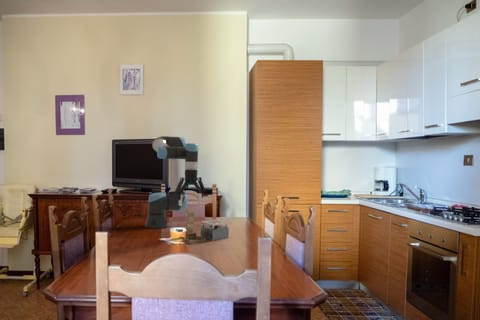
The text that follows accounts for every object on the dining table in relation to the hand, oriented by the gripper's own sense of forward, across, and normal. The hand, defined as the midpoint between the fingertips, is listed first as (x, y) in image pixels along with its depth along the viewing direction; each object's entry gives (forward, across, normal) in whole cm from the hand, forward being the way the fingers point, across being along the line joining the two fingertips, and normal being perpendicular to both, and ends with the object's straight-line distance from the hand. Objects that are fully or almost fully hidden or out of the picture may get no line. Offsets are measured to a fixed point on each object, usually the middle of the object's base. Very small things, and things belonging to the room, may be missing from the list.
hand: (190, 204), depth 187 cm
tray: (+20, -3, -10) cm, 23 cm away
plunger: (+13, +12, -9) cm, 20 cm away
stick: (+19, 0, 0) cm, 19 cm away
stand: (+20, 0, 0) cm, 20 cm away
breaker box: (+20, +12, -9) cm, 25 cm away
